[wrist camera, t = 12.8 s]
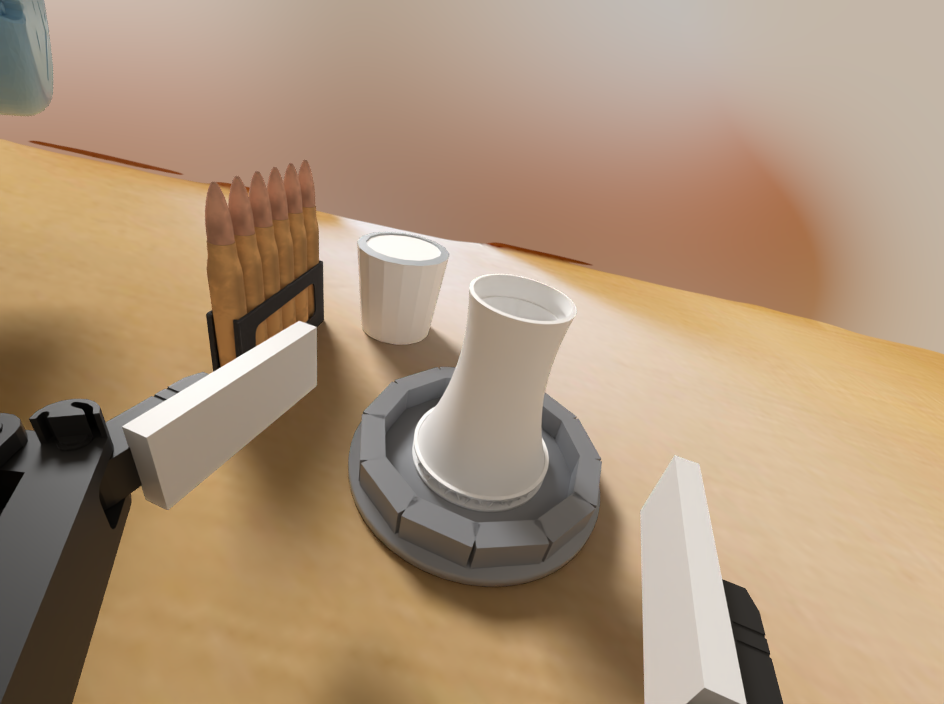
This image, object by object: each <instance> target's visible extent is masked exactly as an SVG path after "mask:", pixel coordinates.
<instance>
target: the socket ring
mask: <svg viewBox="0 0 944 704" xmlns="http://www.w3.org/2000/svg"><path fill="white" fill-rule="evenodd" d="M455 368H456V367H440V369H439V368H438V367H435V368H432V369H429V370H426V371H423V372H419V373H416V374H413V375H410V376H406V377H403V378H400V379H397V380H395V381H394V382H391V383H390V384H389V385H388V386H387V387H386V389H385V390H384V391H383V392H382V393H381V394H380V395H379V396H378V397H377V398H376V399H375V400H374V401H373V402H372V403H371V404H370V405H369V406H368V407H367V408H366V409H365V410H364V412H363V414H362V421H361V423H360V424H359V426H358V428H357V430H356V431H355V434H354V437H353V439H352V442H351V446H350V452H349V462H348V473H349V483H350V488H351V493H352V496H353V499H354V501H355V504H356V507H357V509H358V510H359V512H360V514H361V516H362V518H363V519H364V521H365V523H366V524H367V525H368V526H369V528H370V529H371V530H372V532H373V533H374V534H375V535H376V537H377V538H379V539H380V540H381V541H382V542H383V543H384V544H385V545H386V546H387V547H388V548H389V549H390V550H391V551H393V552H394V553H395V554H397V555H398V556H400V557H401V558H402V559H404V560H405V561H407V562H408V563H410V564H412V565H414V566H416V567H417V568H419V569H421V570H423V571H425V572H427V573H430V574H433V575H435V576H438V577H440V578H443V579H446V580H450V581H454V582H458V583H462V584H467V585H476V586H484V587H497V586H511V585H518V584H524V583H528V582H531V581H534V580H537V579H540V578H543V577H545V576H547V575H549V574H551V573H553V572H555V571H557V570H559V569H560V568H561V567H563V566H564V565H565V564H567V563H568V562H569V561H571V560H572V559H573V558H574V556H575V555H576V554H577V553H578V552H579V551H580V550H581V549H582V547H583V546H584V544H585V542H586V541H587V539H588V538H589V536H590V534H591V532H592V530H593V528H594V525H595V523H596V520H597V518H598V513H599V507H600V488H599V482H600V473H601V464H602V461H600V460H601V458H600V456H599V454H598V452H597V451H596V449H595V447H594V445H593V444H592V442H591V440H590V438H589V436H588V435H587V433H586V431H585V429H584V428H583V426H582V424H581V422H580V421H579V419H576V416H575V415H574V414H572V413H571V412H570V411H568V410H567V409H566V408H565V407H563V406H562V405H561V404H559V403H558V402H557V401H555V400H554V399H553V398H551V397H550V396H549V395H548V394H546V393H545V394H544V400H543V407H542V423H541V429H542V438H543V440H544V442H545V444H546V447H547V450H548V455H549V465H548V470H547V472H546V475H545V477H544V479H543V482H542V485H541V487H540V489H539V490H538V492H537V493H536V494H535V495H534V497H532V498H531V499H530V500H529V501H527V502H526V503H525V504H523V505H521V506H519V507H516V508H513V509H510V510H505V511H499V512H483V511H475V510H471V509H467V508H463V507H460V506H458V505H455V504H453V503H451V502H449V501H447V500H445V499H444V498H442V497H441V496H439V495H438V494H436V493H435V492H434V491H433V490H432V489H430V488H429V487H428V486H427V485H426V483H425V482H424V481H423V480H422V478H421V477H420V475H419V474H418V472H417V470H416V468H415V465H414V462H413V457H412V446H413V441H414V433H415V429H416V426H417V424H418V422H419V420H420V419H421V418H422V417H423V415H424V414H425V413H427V412H428V411H429V410H430V409H432V408H434V407H435V406H436V405H437V404H438V402H439V401H440V399H441V398H442V396H443V394H444V392H445V391H446V389H447V387H448V385H449V383H450V380H451V378H452V376H453V373H454V371H455ZM544 464H545V463H544Z"/></svg>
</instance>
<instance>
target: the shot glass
mask: <svg viewBox="0 0 944 704" xmlns="http://www.w3.org/2000/svg"><path fill="white" fill-rule="evenodd" d="M357 244H358V265H359V287H360V309H361V325H362V329H363V331H364V332H365V333H366V334H367V335H369V336H370V337H372V338H374V339H376V340H378V341H380V342H385V343H390V344H412V343H416V342H420V341H421V340H423V339H424V338H426V337H427V336H428V332H429V329H430V326H431V322H432V318H433V314H434V310H435V307H436V303H437V299H438V295H439V292H440V288H441V284H442V280H443V277H444V273H445V269H446V265H447V261H448V258H449V253H448V251H447V250H446V249H445V247H443V246H441V245H440V244H438V243H436V242H434V241H432V240H429V239H426V238H423V237H420V236H415V235H411V234H406V233H396V232H377V233H371V234H367V235H364V236H362V237H361V238H360V239H359V240H358V241H357Z"/></svg>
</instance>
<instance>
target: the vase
mask: <svg viewBox="0 0 944 704" xmlns="http://www.w3.org/2000/svg"><path fill="white" fill-rule="evenodd" d="M532 302H533V303H532ZM576 313H577V309H576V306H575V304H574V303H573V301H572V300H571V299H570V298H569V297H568V296H566V295H565V294H564V293H562V292H561V291H559V290H557V289H555V288H553V287H551V286H549V285H547V284H545V283H542V282H539V281H536V280H533V279H530V278H526V277H521V276H516V275H508V274H488V275H483V276H479V277H477V278H475V279H474V280H472V281H471V283H470V285H469V306H468V316H467V324H466V330H465V336H464V340H463V345H462V349H461V353H460V356H459V360H458V363H457V365H456V368H455V371H454V373H453V376H452V378H451V380H450V383H449V385H448V387H447V389H446V391H445V392H444V394H443V396H442V398H441V399H440V401H439V402H438V404H437V405H436V406H435V407H434V408H432V409H430V410H429V411H428V412H427V413H425V414H424V415H423V417H422V418H421V419H420V420H419V422H418V424H417V426H416V429H415V433H414V441H413V446H412V457H413V462H414V465H415V468H416V470H417V472H418V474H419V475H420V477H421V478H422V480H423V481H424V482H425V483H426V485H427V486H428V487H429V488H430V489H432V490H433V491H434V492H435V493H436V494H438V495H439V496H441V497H442V498H444V499H445V500H447V501H449V502H451V503H453V504H455V505H458V506H460V507H463V508H467V509H471V510H475V511H483V512H499V511H505V510H510V509H513V508H516V507H519V506H521V505H523V504H525V503H526V502H527V501H529V500H530V499H531V498H532V497H534V495H535V494H536V493H537V492H538V490H539V489H540V487H541V485H542V482H543V479H544V477H545V475H546V472H547V470H548V465H549V455H548V450H547V447H546V444H545V442H544V440H543V438H542V429H541V423H542V407H543V400H544V394H545V389H546V385H547V381H548V377H549V374H550V370H551V367H552V364H553V361H554V359H555V356H556V354H557V351H558V349H559V347H560V344H561V342H562V340H563V338H564V336H565V334H566V332H567V330H568V328H569V326H570V324H571V322H572V321H573V319H574V317H575V316H576ZM544 463H545V464H544Z"/></svg>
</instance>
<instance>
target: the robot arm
mask: <svg viewBox="0 0 944 704" xmlns="http://www.w3.org/2000/svg"><path fill="white" fill-rule="evenodd" d="M52 94H53V64H52V53H51V45H50V38H49V30H48V22H47V16H46V10H45V4H44V0H0V115H14V116H32V115H36V114H38V113H41V112H42V111H44V110H45V108H46V107H47V106H48V105H49V104H50V102H51V99H52ZM316 386H317V327H315V326H312V325H310V324H307V323H304V322H301V321H298V322H296V323H295V324H293V325H291V326H289V327H288V328H286V329H284V330H283V331H281V332H279V333H278V334H276V335H274V336H273V337H271V338H269V339H268V340H266V341H264V342H263V343H261V344H259V345H258V346H256V347H254V348H253V349H251V350H249V351H248V352H246V353H244V354H243V355H241V356H239V357H237V358H236V359H234V360H232V361H231V362H229V363H227V364H226V365H224V366H222V367H221V368H219V369H217V370H216V371H214V372H212V373H211V374H207V373H204V372H201V373H198V374H195V375H192V376H188V377H185V378H183V379H181V380H179V381H178V382H176V383H174V384H172V385H170V386H169V387H168V388H167V389H163V390H162V391H160V392H158V393H156V394H155V396H154V397H152V396H151V397H149V398H148V399H146V400H144V401H142V402H141V403H139V404H137V405H135V406H134V407H132V408H130V409H128V410H127V411H125V412H123V413H121V414H120V415H118V416H116V417H114V418H113V419H111V420H109V421H107V422H106V423H105V420H104V417H103V414H102V411H101V409H100V406H99V405H98V404H97V403H96V402H94V401H91V400H88V399H70V400H64V401H59V402H56V403H53V404H50V405H47V406H46V407H44V408H42V409H40V410H38V411H37V412H35V413H34V414H33V415H32V416H31V417H30V418H29V420H30V422H31V424H32V426H33V429H34V431H31V430H25V428H24V426H23V424H22V422H21V420H20V419H19V418H18V417H16V416H15V415H13V414H7V413H0V704H72V702H73V699H74V696H75V692H76V689H77V685H78V682H79V679H80V675H81V672H82V668H83V665H84V662H85V658H86V655H87V652H88V648H89V645H90V641H91V638H92V635H93V631H94V628H95V624H96V621H97V618H98V614H99V611H100V608H101V604H102V601H103V597H104V594H105V591H106V587H107V584H108V580H109V577H110V574H111V570H112V567H113V564H114V560H115V557H116V553H117V550H118V547H119V543H120V540H121V536H122V533H123V530H124V526H125V523H126V520H127V516H128V513H129V509H130V506H131V494H130V493H132V492H133V491H134V490H136V489H137V488H139V487H140V486H142V490H143V493H144V496H145V499H146V500H147V501H150V502H152V503H154V504H156V505H158V506H160V507H162V508H164V509H166V510H169V509H170V508H171V507H173V506H174V505H175V504H176V503H177V502H178V501H180V500H181V499H182V498H183V497H184V496H186V495H187V494H188V493H189V492H190V491H192V490H193V489H194V488H195V487H196V486H198V485H199V484H200V483H201V482H202V481H204V480H205V479H206V478H207V477H208V476H210V475H211V474H212V473H213V472H214V471H216V470H217V469H218V468H219V467H220V466H222V465H223V464H224V463H225V462H226V461H228V460H229V459H230V458H231V457H232V456H233V455H235V454H236V453H237V452H238V451H239V450H241V449H242V448H243V447H244V446H245V445H247V444H248V443H249V442H250V441H251V440H253V439H254V438H255V437H256V436H257V435H259V434H260V433H261V432H262V431H263V430H265V429H266V428H267V427H268V426H269V425H271V424H272V423H273V422H274V421H275V420H277V419H278V418H279V417H280V416H281V415H283V414H284V413H285V412H286V411H287V410H288V409H290V408H291V407H292V406H293V405H294V404H296V403H297V402H298V401H299V400H300V399H302V398H303V397H304V396H305V395H306V394H308V393H309V392H310V391H311V390H312V389H314V388H315V387H316ZM640 515H641V561H642V607H643V654H644V700H645V704H783V701H782V697H781V693H780V689H779V686H778V682H777V678H776V674H775V670H774V666H773V663H772V659H771V658H770V657H769V655H770V651H769V647H768V643H767V639H765V632H764V628H763V624H762V620H761V616H760V613H759V610H758V609H757V607H756V605H755V604H754V602H753V600H752V599H751V597H750V595H749V594H748V592H747V590H746V589H745V588H743V587H740V586H738V585H735V584H733V583H730V582H728V581H725V580H723V579H722V576H721V571H720V566H719V561H718V556H717V551H716V546H715V541H714V536H713V531H712V526H711V521H710V515H709V510H708V505H707V500H706V495H705V490H704V485H703V480H702V475H701V470H700V465H699V464H698V463H695V462H692V461H690V460H687V459H684V458H681V457H679V456H676V455H674V457H673V459H672V460H671V462H670V463H669V465H668V467H667V468H666V470H665V471H664V473H663V475H662V476H661V478H660V480H659V481H658V483H657V484H656V486H655V488H654V489H653V491H652V493H651V494H650V496H649V497H648V499H647V501H646V502H645V504H644V505H643V507H642V509H641V510H640Z"/></svg>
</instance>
